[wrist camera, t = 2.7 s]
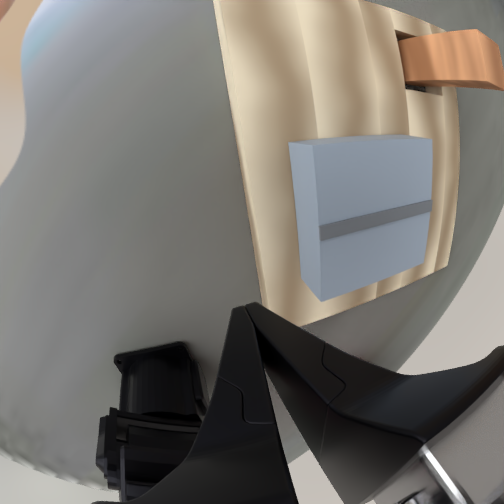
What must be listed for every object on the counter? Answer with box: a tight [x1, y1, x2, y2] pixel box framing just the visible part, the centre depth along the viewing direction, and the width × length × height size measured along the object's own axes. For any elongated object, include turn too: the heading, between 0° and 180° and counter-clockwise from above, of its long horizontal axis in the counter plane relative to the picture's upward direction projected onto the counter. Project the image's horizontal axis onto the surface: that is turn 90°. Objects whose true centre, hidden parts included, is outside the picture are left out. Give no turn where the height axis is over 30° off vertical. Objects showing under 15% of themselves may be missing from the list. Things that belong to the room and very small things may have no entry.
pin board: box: [213, 0, 460, 327], centre depth 18 cm, size 20×24×2 cm
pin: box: [397, 29, 504, 91], centre depth 12 cm, size 4×4×9 cm
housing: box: [288, 134, 433, 302], centre depth 16 cm, size 9×9×3 cm
